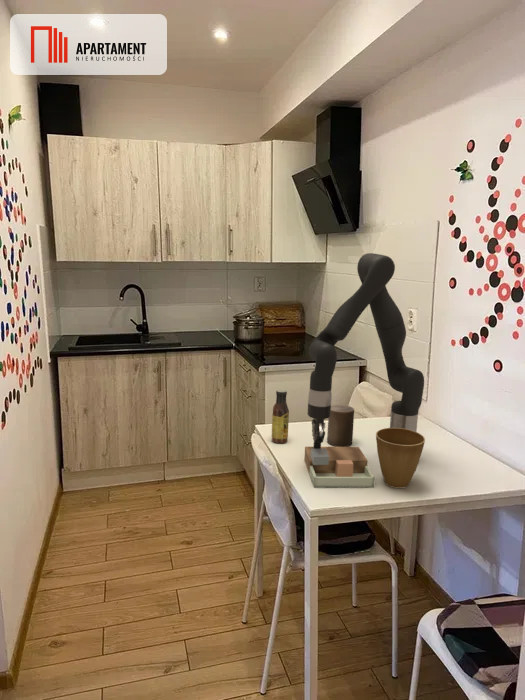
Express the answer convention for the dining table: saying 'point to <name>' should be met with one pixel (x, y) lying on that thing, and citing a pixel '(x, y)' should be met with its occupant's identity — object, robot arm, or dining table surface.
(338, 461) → the pink square block
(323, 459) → the grey block
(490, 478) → the dining table surface
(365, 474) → the sage tray
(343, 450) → the brown wooden block
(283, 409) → the sauce bottle
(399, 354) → the robot arm
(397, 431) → the plant pot
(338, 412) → the pillar candle
